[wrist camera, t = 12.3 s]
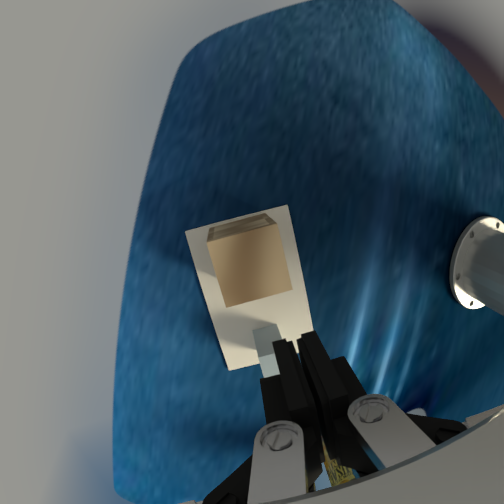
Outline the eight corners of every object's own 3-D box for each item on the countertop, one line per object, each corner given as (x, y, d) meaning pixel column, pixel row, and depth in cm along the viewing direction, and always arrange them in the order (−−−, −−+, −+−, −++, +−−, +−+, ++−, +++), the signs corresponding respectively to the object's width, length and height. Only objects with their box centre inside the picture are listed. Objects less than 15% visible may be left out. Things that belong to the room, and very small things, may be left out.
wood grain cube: (265, 212, 30) (277, 223, 24) (278, 266, 31) (292, 289, 25) (209, 227, 30) (206, 242, 24) (224, 280, 31) (226, 307, 25)
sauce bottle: (339, 414, 38) (395, 530, 19) (365, 427, 39) (421, 530, 20) (306, 443, 39) (344, 558, 19) (334, 454, 40) (375, 557, 21)
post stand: (286, 204, 30) (301, 211, 25) (315, 345, 35) (330, 374, 29) (185, 231, 30) (177, 243, 25) (229, 368, 34) (231, 401, 29)
